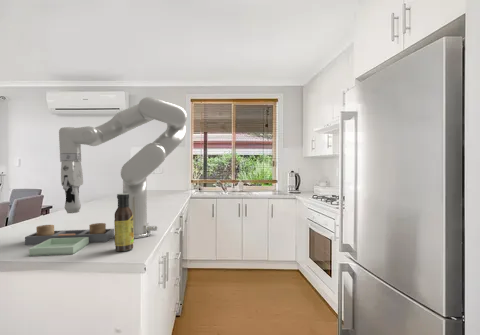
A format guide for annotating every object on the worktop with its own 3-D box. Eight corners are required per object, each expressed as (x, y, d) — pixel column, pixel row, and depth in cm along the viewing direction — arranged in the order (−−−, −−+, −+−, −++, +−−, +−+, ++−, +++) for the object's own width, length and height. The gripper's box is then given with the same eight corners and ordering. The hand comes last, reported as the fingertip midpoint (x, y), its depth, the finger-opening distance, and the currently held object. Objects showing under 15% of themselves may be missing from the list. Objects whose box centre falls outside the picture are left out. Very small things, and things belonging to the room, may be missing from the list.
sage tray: (88, 243, 118) (88, 237, 118) (73, 254, 104) (73, 246, 104) (50, 245, 117) (50, 238, 117) (29, 256, 103) (29, 248, 103)
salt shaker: (73, 213, 121) (72, 180, 121) (61, 213, 122) (59, 181, 122) (84, 211, 126) (82, 179, 126) (72, 211, 128) (70, 180, 127)
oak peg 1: (57, 239, 126) (56, 224, 126) (49, 242, 120) (49, 227, 120) (41, 239, 126) (41, 225, 126) (33, 243, 120) (33, 228, 120)
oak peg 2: (107, 237, 129) (107, 222, 129) (103, 240, 123) (102, 225, 123) (92, 237, 128) (92, 223, 128) (87, 241, 122) (87, 226, 122)
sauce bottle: (136, 250, 108) (135, 193, 108) (117, 253, 105) (116, 195, 104) (130, 246, 114) (129, 192, 113) (113, 249, 110) (112, 193, 110)
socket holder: (114, 235, 131) (114, 227, 131) (106, 241, 121) (106, 233, 121) (39, 238, 128) (38, 230, 127) (24, 244, 118) (24, 236, 117)
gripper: (71, 157, 116) (73, 206, 116) (88, 158, 132) (89, 200, 133) (50, 158, 115) (52, 207, 116) (69, 158, 132) (71, 201, 132)
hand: (72, 203), depth 124 cm, fingers closed on salt shaker, 3 cm apart
